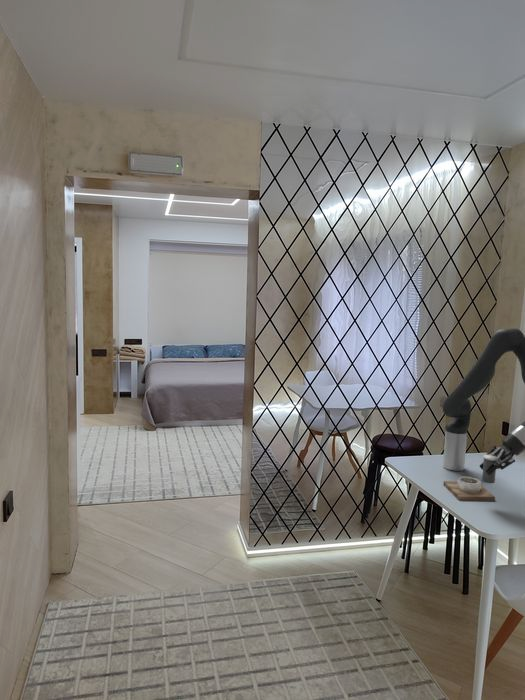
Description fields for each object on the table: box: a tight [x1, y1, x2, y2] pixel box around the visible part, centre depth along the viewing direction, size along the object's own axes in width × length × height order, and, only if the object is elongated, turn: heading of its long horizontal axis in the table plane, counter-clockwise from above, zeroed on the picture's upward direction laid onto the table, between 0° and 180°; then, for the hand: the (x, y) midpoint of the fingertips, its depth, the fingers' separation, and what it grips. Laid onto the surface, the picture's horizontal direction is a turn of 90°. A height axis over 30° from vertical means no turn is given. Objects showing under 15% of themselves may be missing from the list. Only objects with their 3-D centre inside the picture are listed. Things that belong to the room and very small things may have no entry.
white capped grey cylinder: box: [481, 454, 497, 484], centre depth 188 cm, size 5×5×10 cm
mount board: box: [443, 480, 496, 502], centre depth 201 cm, size 16×14×2 cm
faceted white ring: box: [456, 476, 482, 493], centre depth 201 cm, size 9×9×4 cm
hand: (484, 470), depth 188 cm, fingers closed on white capped grey cylinder, 4 cm apart
